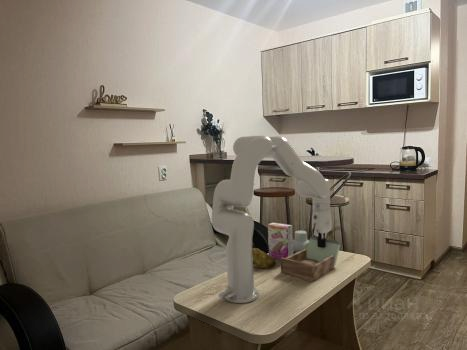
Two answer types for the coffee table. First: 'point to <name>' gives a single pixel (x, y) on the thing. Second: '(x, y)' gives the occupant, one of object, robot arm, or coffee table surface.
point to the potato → (262, 259)
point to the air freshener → (300, 241)
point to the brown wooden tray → (306, 266)
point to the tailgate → (322, 250)
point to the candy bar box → (280, 240)
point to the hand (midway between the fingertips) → (321, 247)
